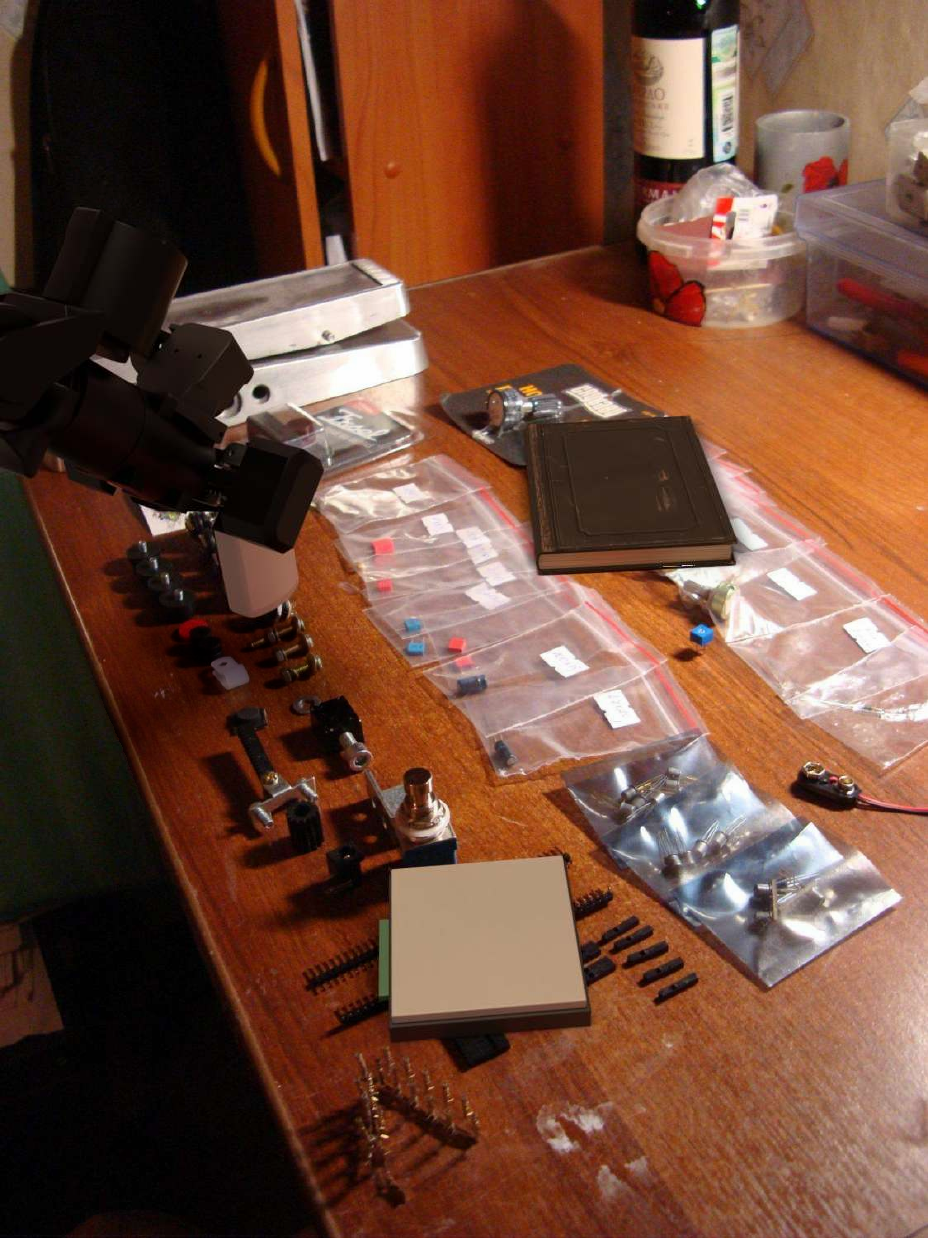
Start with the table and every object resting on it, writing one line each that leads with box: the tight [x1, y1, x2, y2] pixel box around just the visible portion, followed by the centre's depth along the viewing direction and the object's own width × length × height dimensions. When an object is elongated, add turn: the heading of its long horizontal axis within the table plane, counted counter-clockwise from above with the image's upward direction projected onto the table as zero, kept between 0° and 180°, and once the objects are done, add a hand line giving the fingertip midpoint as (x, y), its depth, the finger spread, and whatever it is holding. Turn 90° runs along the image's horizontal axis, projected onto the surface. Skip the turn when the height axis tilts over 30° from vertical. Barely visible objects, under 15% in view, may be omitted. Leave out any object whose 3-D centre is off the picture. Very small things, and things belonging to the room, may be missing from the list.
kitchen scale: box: [378, 855, 592, 1043], centre depth 61 cm, size 11×10×3 cm
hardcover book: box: [523, 414, 739, 576], centre depth 101 cm, size 16×23×2 cm
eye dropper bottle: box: [213, 464, 300, 619], centre depth 79 cm, size 4×6×12 cm
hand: (264, 510), depth 80 cm, fingers closed on eye dropper bottle, 3 cm apart
